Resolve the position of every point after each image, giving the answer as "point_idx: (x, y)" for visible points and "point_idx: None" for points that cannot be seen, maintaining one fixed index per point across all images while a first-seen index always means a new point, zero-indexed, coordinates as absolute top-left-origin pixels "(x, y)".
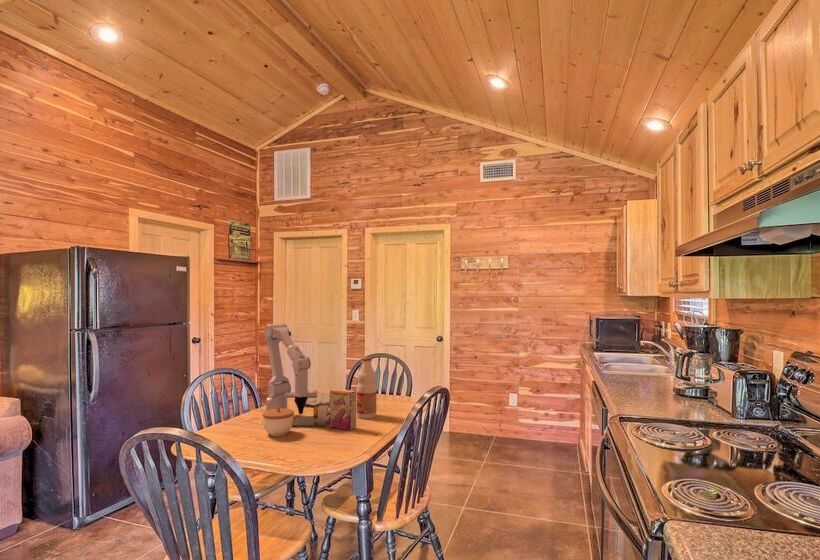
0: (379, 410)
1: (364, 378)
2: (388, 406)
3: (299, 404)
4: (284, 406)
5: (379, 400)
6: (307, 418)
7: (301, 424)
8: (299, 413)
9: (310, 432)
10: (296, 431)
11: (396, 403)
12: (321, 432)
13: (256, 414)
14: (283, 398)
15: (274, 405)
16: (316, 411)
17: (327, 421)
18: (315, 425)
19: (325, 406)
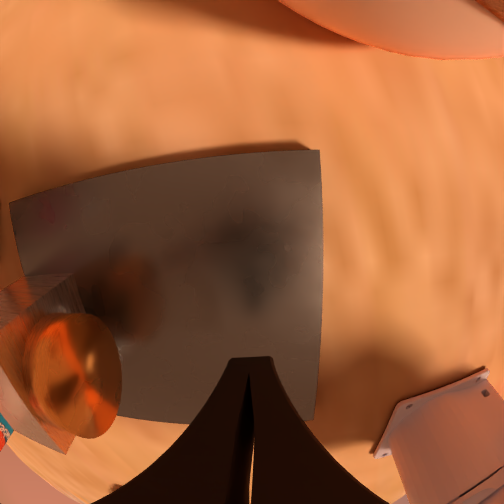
0: (18, 433)
1: None
2: (29, 454)
3: (257, 476)
4: (424, 461)
5: (88, 497)
6: (211, 383)
7: (194, 180)
8: (264, 361)
9: (82, 44)
10: (206, 31)
11: (35, 466)
12: (22, 77)
13: (500, 391)
14: (451, 499)
15: (485, 435)
16: (28, 343)
17: None
18: (61, 186)
19: (7, 413)
